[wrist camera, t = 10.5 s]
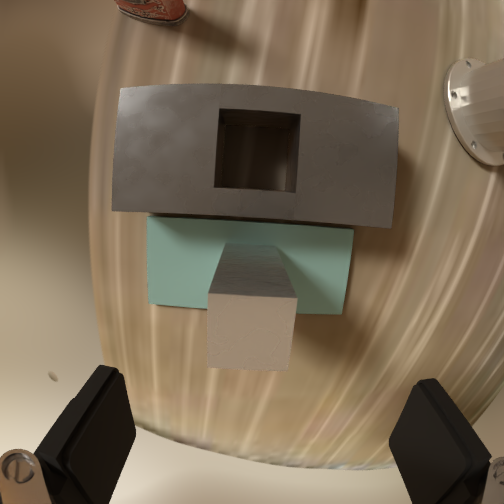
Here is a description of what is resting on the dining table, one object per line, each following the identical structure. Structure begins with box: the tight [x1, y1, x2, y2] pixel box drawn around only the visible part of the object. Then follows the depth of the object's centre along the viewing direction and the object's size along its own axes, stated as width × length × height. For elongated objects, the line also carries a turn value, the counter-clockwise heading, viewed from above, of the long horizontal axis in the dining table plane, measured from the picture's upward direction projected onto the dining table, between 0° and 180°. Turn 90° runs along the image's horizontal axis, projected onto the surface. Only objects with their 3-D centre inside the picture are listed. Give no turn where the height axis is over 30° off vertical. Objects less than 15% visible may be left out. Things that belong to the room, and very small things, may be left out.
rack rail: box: [112, 84, 399, 229], centre depth 22 cm, size 20×9×6 cm, turn 86°
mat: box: [147, 216, 354, 314], centre depth 27 cm, size 18×8×1 cm, turn 86°
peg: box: [207, 243, 298, 371], centre depth 20 cm, size 4×4×12 cm
